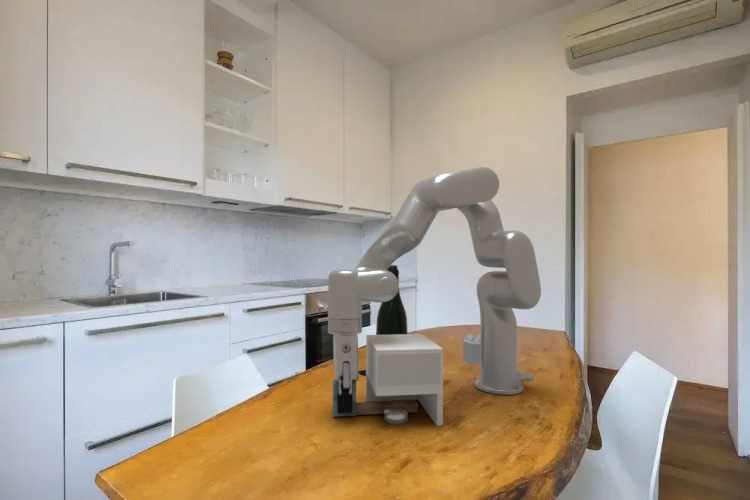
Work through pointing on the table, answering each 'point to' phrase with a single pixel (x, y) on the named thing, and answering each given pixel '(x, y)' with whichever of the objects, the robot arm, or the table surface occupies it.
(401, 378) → the cabinet
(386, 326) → the dark green wine bottle
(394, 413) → the silver metal dome
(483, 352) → the robot arm
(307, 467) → the table surface
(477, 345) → the lumpy-topped squat cylinder
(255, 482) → the table surface
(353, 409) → the mallet
